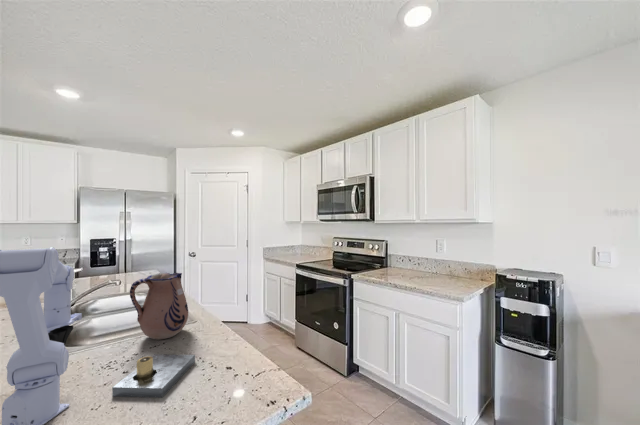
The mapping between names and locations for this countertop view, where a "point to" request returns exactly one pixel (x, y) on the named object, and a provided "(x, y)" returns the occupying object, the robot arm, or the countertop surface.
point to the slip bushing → (144, 368)
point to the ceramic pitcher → (161, 306)
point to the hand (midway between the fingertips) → (57, 353)
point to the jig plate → (155, 377)
